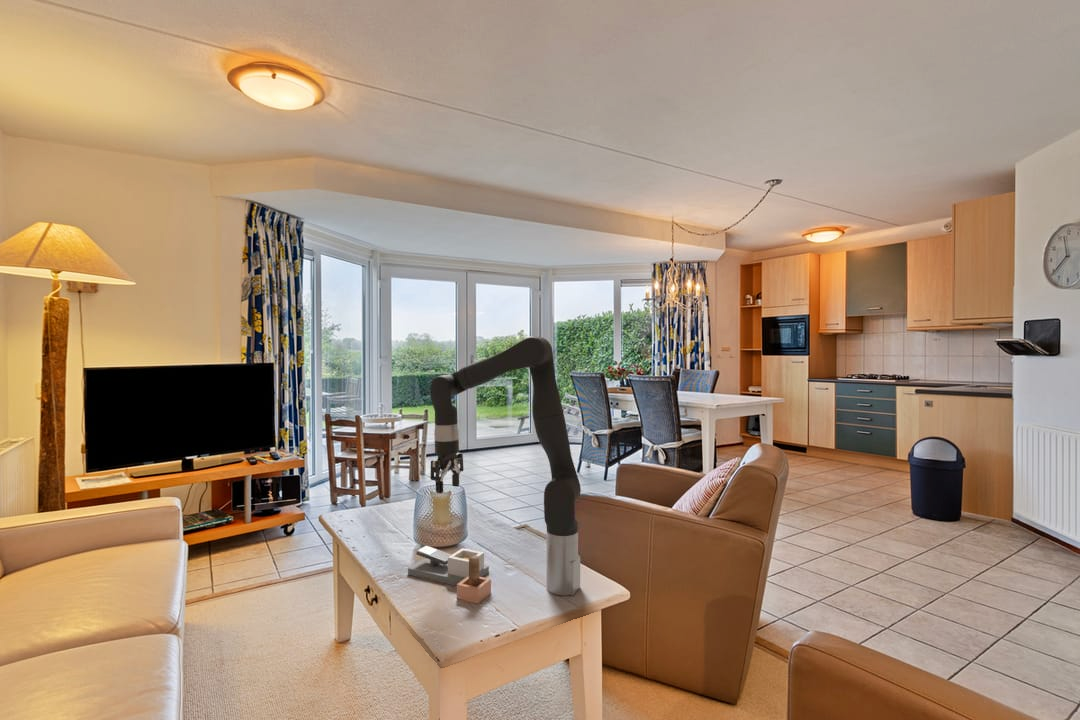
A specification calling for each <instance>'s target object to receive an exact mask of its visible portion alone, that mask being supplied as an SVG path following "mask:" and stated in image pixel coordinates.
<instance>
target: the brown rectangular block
mask: <svg viewBox="0 0 1080 720" xmlns="http://www.w3.org/2000/svg"><path fill="white" fill-rule="evenodd" d="M469 585H470V586H474V587H478V586H479V556H476V555H474V556H470V557H469Z"/></svg>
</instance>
